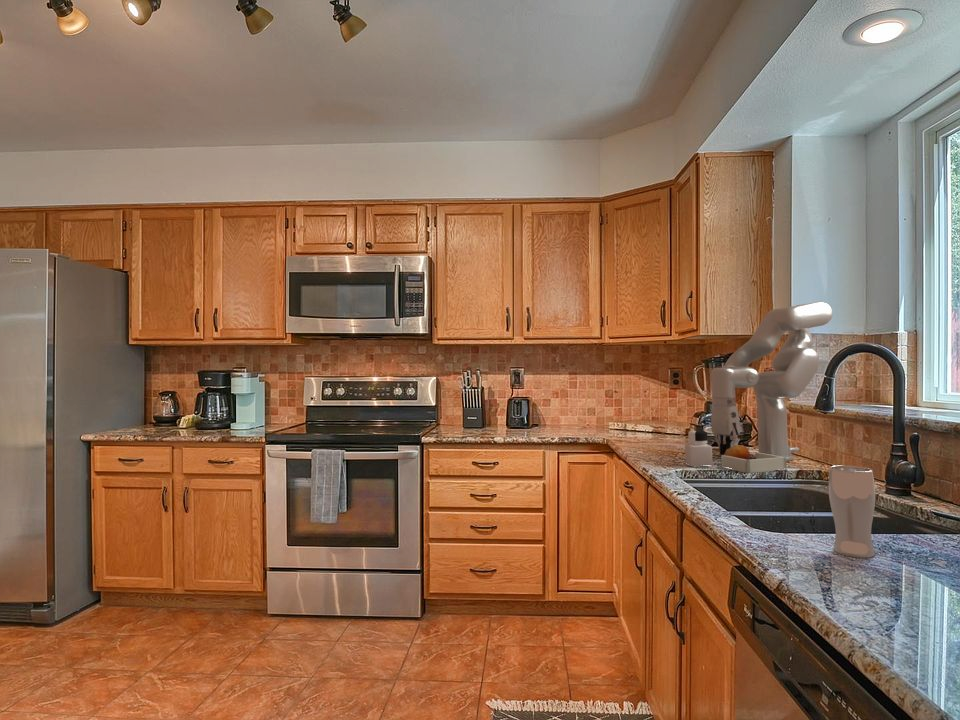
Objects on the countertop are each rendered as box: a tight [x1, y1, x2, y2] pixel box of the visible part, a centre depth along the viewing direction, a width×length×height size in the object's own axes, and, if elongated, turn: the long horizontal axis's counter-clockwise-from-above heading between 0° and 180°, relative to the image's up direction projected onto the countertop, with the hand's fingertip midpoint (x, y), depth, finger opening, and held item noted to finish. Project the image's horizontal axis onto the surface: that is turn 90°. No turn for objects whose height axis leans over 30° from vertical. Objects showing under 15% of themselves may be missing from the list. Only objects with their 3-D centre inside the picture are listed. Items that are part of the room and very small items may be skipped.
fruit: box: [724, 444, 751, 460], centre depth 191 cm, size 8×8×8 cm
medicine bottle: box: [684, 429, 713, 467], centre depth 192 cm, size 7×7×12 cm
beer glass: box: [828, 465, 876, 559], centre depth 100 cm, size 7×7×15 cm
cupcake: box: [714, 435, 741, 451], centre depth 225 cm, size 9×9×10 cm
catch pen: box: [720, 452, 788, 474], centre depth 184 cm, size 15×12×4 cm
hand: (725, 454), depth 197 cm, fingers closed
